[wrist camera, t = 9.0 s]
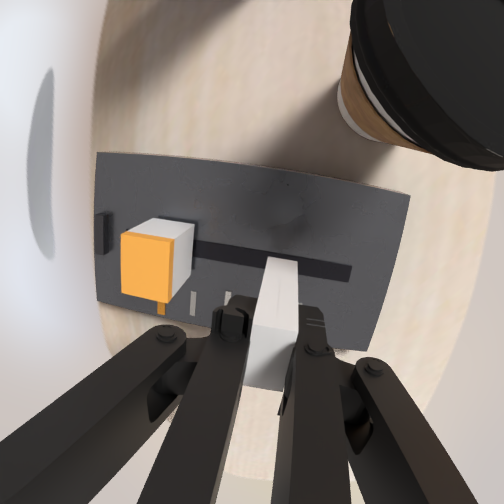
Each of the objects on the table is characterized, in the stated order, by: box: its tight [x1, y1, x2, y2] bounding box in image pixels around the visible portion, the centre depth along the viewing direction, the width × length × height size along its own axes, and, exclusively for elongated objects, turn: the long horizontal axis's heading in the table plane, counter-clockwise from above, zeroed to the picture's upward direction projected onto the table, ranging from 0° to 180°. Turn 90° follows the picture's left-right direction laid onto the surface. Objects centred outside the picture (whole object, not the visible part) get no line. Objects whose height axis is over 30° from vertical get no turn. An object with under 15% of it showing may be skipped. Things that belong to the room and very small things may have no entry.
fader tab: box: [121, 218, 195, 303], centre depth 19 cm, size 4×3×4 cm
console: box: [94, 152, 410, 352], centre depth 22 cm, size 12×22×3 cm, turn 82°
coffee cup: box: [337, 0, 504, 172], centre depth 12 cm, size 8×8×15 cm
